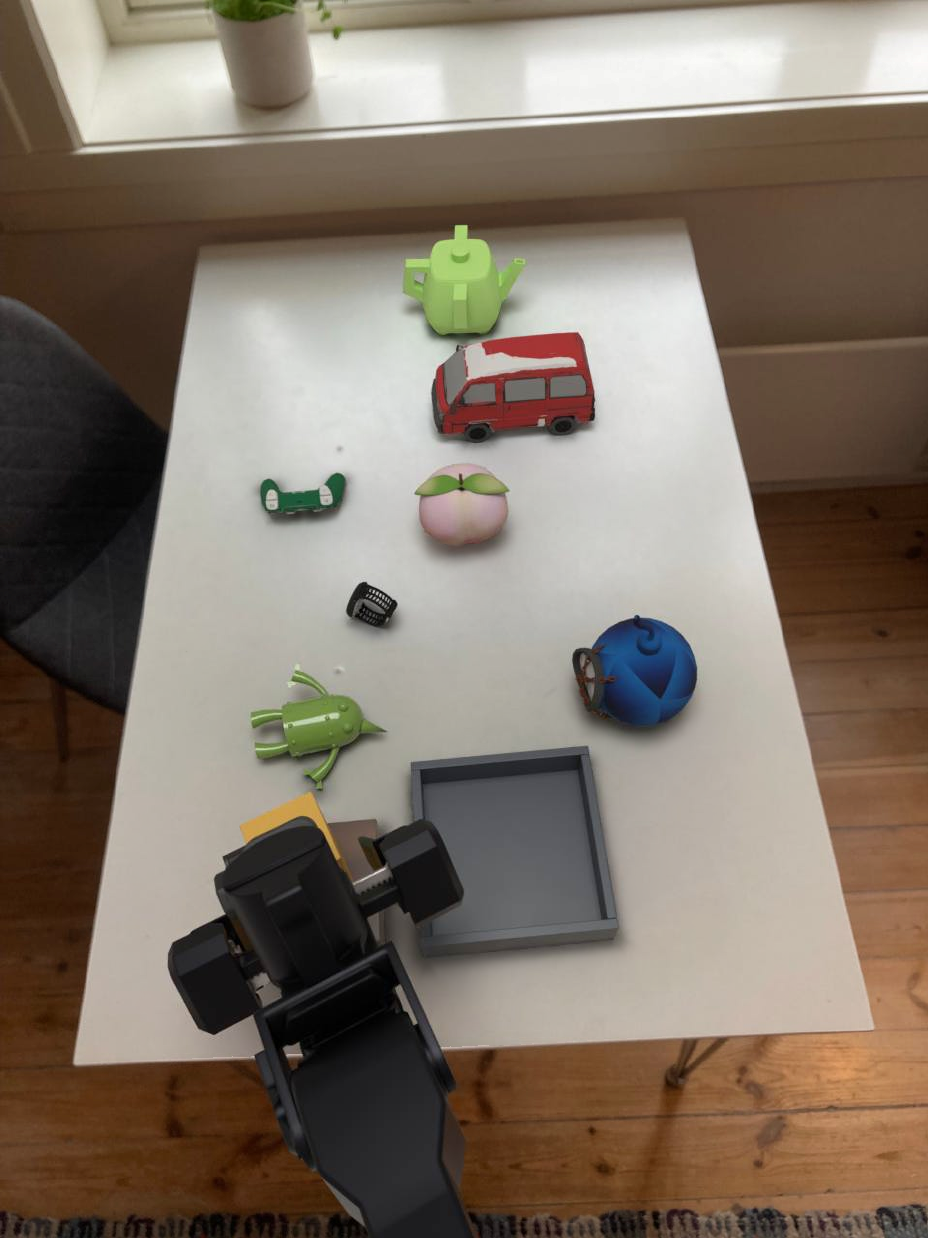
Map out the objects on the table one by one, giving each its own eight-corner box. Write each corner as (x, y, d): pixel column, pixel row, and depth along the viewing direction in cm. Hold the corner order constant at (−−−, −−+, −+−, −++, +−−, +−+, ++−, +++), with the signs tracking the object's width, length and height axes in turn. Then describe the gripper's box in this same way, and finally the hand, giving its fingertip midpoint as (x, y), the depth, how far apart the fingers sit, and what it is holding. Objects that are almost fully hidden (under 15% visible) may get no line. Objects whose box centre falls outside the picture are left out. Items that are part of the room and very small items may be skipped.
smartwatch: (371, 594, 93) (365, 566, 89) (405, 624, 91) (400, 597, 87) (341, 618, 92) (333, 591, 88) (374, 649, 90) (368, 623, 86)
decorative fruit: (500, 497, 99) (499, 433, 91) (513, 557, 95) (515, 496, 87) (415, 509, 99) (406, 447, 90) (425, 571, 95) (417, 511, 86)
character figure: (237, 672, 81) (370, 645, 82) (248, 676, 86) (373, 651, 87) (261, 802, 79) (395, 773, 80) (270, 799, 85) (397, 772, 85)
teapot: (462, 361, 110) (459, 295, 102) (398, 318, 115) (390, 251, 107) (528, 313, 115) (530, 245, 106) (463, 273, 119) (460, 205, 111)
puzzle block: (361, 898, 73) (340, 858, 64) (297, 931, 72) (266, 895, 63) (334, 838, 76) (311, 791, 67) (272, 869, 75) (239, 825, 65)
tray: (613, 940, 75) (619, 928, 71) (424, 958, 75) (420, 947, 71) (584, 763, 83) (588, 745, 79) (414, 779, 83) (410, 761, 79)
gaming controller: (266, 512, 102) (257, 519, 96) (262, 478, 101) (251, 483, 95) (349, 505, 102) (344, 512, 96) (345, 471, 101) (339, 475, 95)
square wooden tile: (385, 951, 75) (379, 941, 72) (264, 963, 75) (253, 953, 71) (381, 833, 80) (375, 818, 77) (267, 844, 80) (257, 829, 77)
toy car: (433, 391, 108) (427, 324, 100) (589, 387, 107) (596, 319, 99) (432, 448, 103) (425, 383, 95) (594, 445, 103) (602, 379, 94)
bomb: (559, 664, 88) (569, 578, 75) (667, 642, 89) (694, 553, 76) (588, 756, 83) (603, 680, 70) (701, 731, 84) (737, 652, 71)
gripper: (434, 793, 52) (379, 721, 67) (120, 948, 49) (135, 836, 63) (499, 949, 55) (433, 848, 70) (208, 1107, 51) (202, 964, 66)
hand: (305, 870), depth 67 cm, fingers open, 9 cm apart
